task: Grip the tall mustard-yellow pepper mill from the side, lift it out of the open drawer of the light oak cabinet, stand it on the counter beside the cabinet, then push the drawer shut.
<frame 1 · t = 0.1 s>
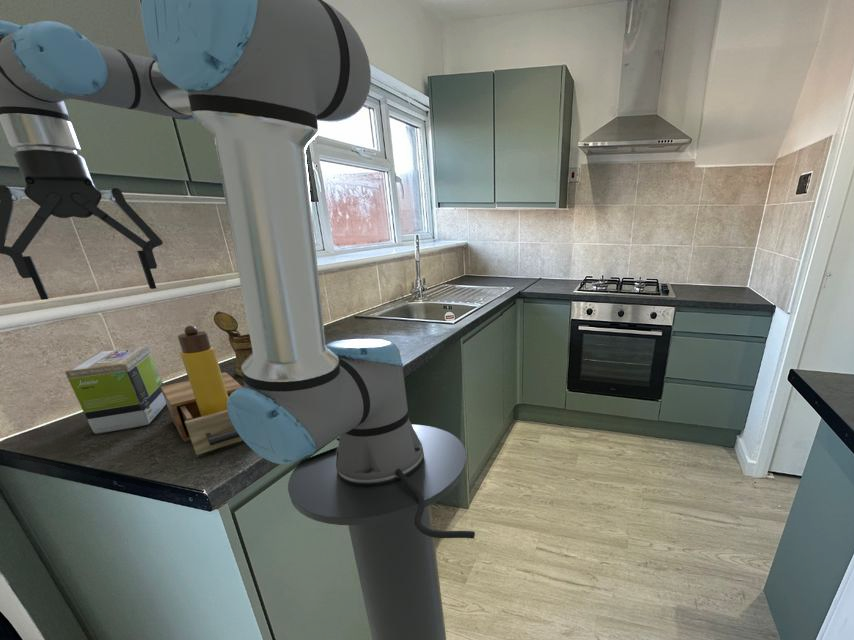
hand: (102, 293, 71), 30 cm above the worktop, tool pointing down, fingers open, 13 cm apart
cabinet: (212, 421, 93), on the worktop
drawer: (220, 421, 83), point 4 cm above the worktop, slide at 9.0 cm, touching pepper mill
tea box: (135, 417, 96), on the worktop
pepper mill: (222, 430, 84), point 2 cm above the worktop, touching drawer
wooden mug: (250, 371, 125), on the worktop
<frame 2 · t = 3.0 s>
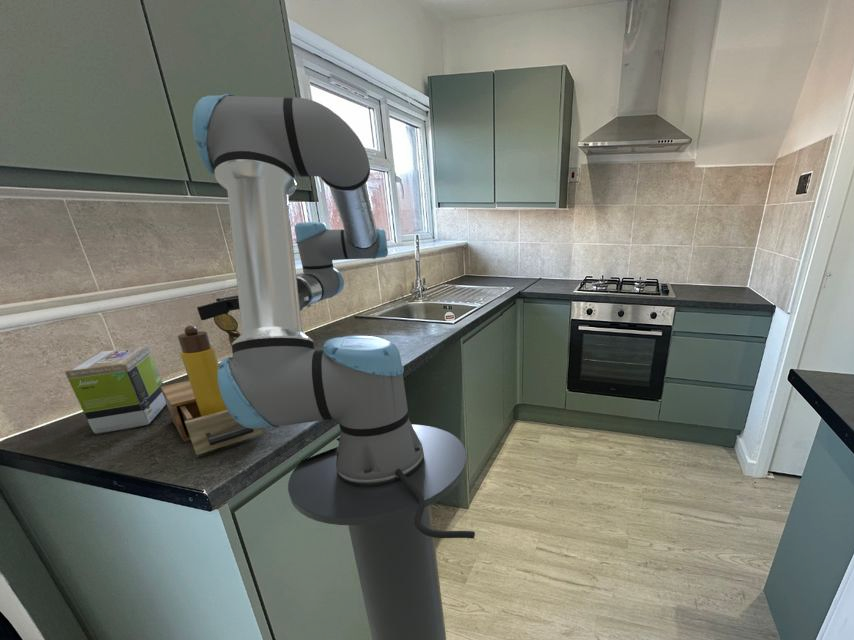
hand: (228, 314, 84), 24 cm above the worktop, tool horizontal, fingers open, 13 cm apart
nothing on the worktop moved.
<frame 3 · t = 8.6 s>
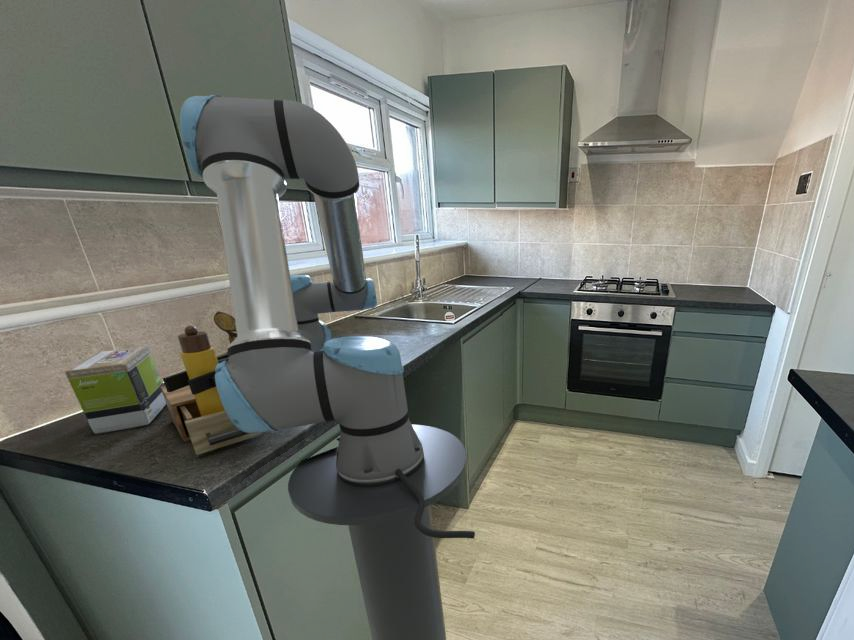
hand: (179, 386, 76), 14 cm above the worktop, tool horizontal, fingers closed on pepper mill, 5 cm apart
pepper mill: (222, 430, 84), point 2 cm above the worktop, touching drawer, gripper
everything else where it was.
when the fingers open (12 cm above the worktop, at t = 18.0 s): pepper mill stays where it is, on the worktop.
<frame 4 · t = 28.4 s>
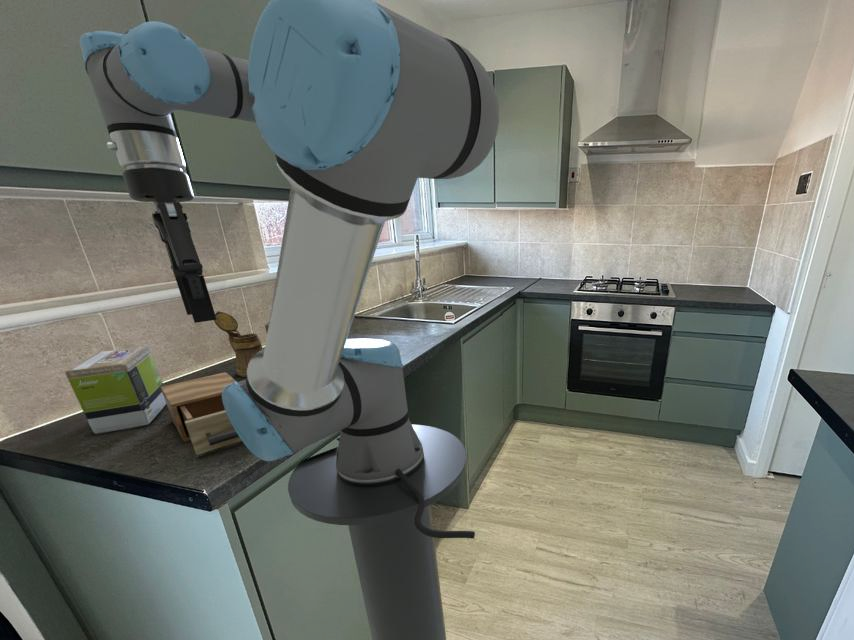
hand: (201, 317, 67), 27 cm above the worktop, tool pointing down, fingers open, 13 cm apart
drawer: (220, 421, 83), point 4 cm above the worktop, slide at 9.0 cm
pepper mill: (295, 405, 100), on the worktop
everything else where it was.
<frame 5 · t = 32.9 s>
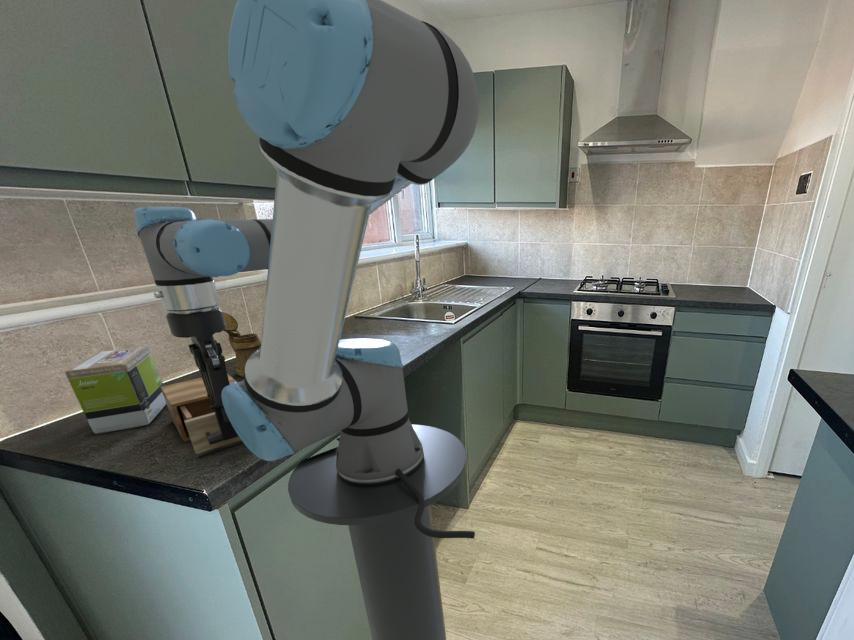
hand: (232, 436, 77), 4 cm above the worktop, tool pointing down, fingers closed
drawer: (220, 421, 83), point 4 cm above the worktop, slide at 8.6 cm, touching gripper
everything else where it was.
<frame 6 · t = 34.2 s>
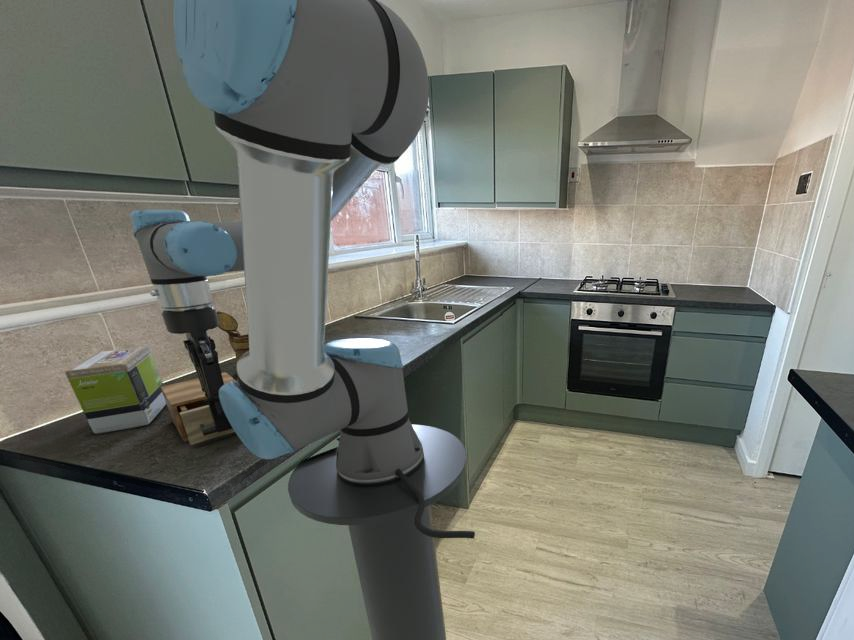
hand: (225, 428, 80), 4 cm above the worktop, tool pointing down, fingers closed
drawer: (214, 413, 86), point 4 cm above the worktop, slide at 3.4 cm, touching gripper
everything else where it was.
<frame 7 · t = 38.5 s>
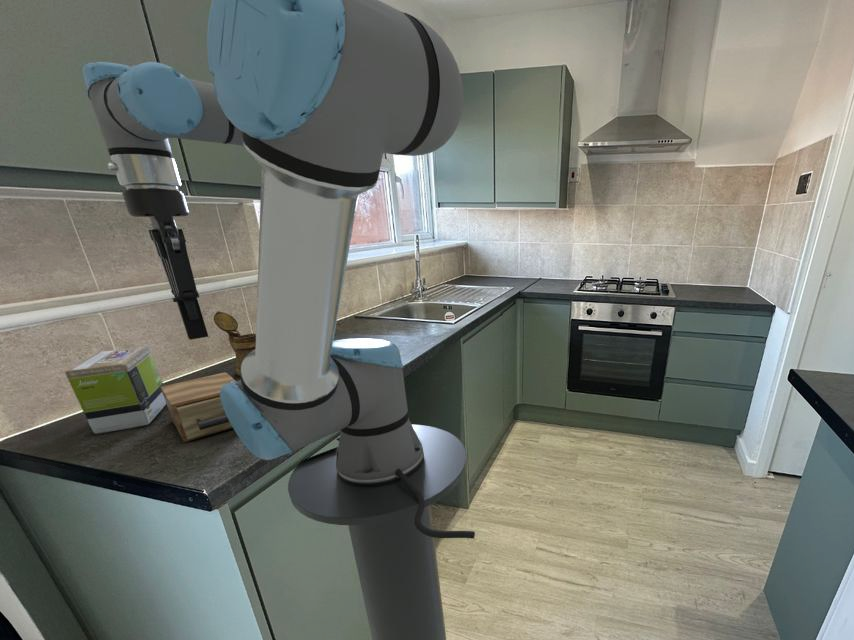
hand: (198, 337, 73), 22 cm above the worktop, tool pointing down, fingers closed
drawer: (210, 409, 89), point 4 cm above the worktop, slide at 0.0 cm
everything else where it was.
at the end: pepper mill inside the target area (0.1 cm from its centre), on the worktop; pepper mill tilted 0°; drawer slide at 0.0 cm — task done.
